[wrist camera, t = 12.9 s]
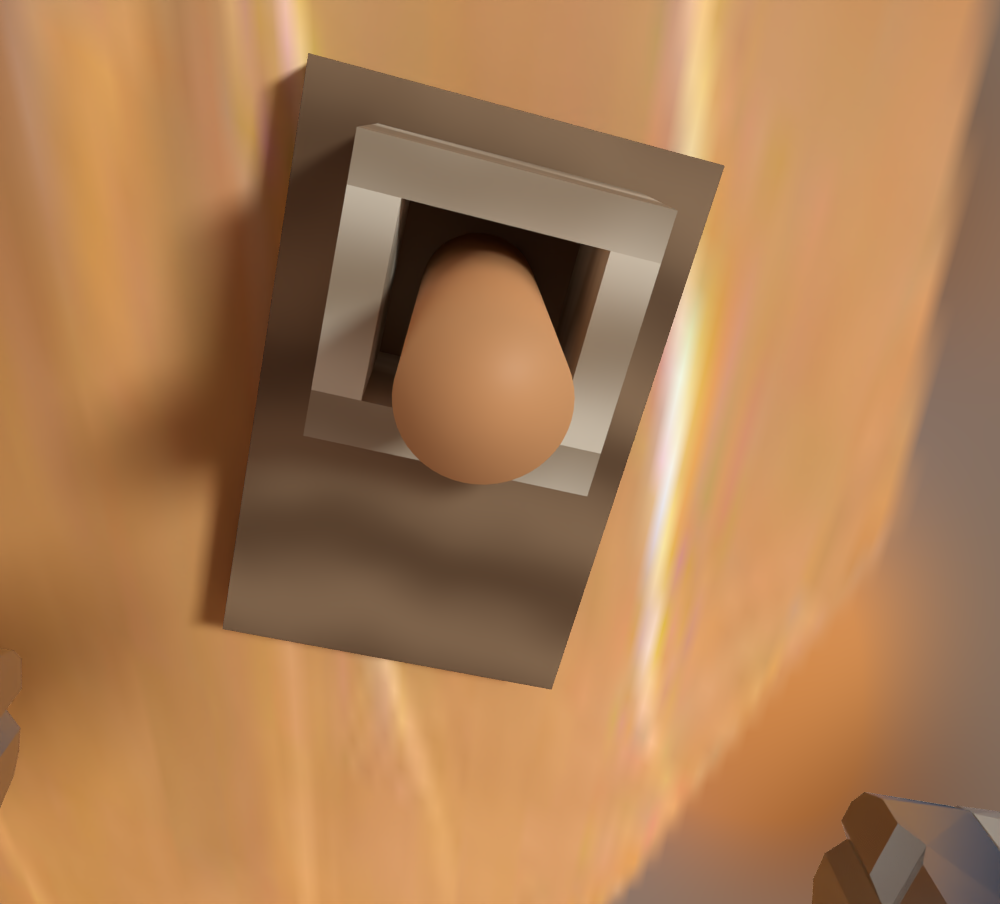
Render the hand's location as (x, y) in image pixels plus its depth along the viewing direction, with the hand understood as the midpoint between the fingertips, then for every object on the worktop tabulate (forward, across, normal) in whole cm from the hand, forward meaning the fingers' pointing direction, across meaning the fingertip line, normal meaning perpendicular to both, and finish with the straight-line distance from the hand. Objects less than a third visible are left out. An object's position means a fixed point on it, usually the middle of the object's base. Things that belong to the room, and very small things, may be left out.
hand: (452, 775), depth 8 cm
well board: (+25, -1, +5) cm, 26 cm away
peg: (+23, -1, 0) cm, 23 cm away
